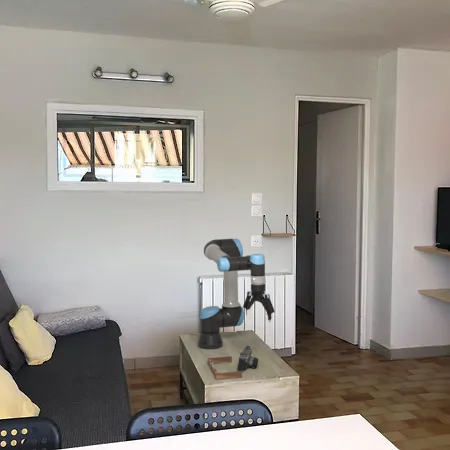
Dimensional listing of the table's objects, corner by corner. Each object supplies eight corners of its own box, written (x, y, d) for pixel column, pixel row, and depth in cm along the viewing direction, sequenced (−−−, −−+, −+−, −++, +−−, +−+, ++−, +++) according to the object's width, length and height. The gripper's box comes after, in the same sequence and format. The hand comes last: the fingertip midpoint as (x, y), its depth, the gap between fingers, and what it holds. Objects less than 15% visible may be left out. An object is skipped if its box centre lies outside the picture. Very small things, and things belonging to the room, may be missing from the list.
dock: (207, 363, 284) (207, 356, 284) (231, 361, 287) (231, 354, 287) (216, 380, 259) (216, 372, 259) (242, 377, 262) (241, 370, 262)
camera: (252, 377, 267) (256, 358, 265) (235, 372, 268) (239, 353, 267) (258, 365, 284) (261, 348, 283) (241, 361, 286) (245, 343, 284)
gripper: (236, 282, 278) (236, 321, 279) (271, 287, 260) (271, 329, 261) (245, 280, 283) (246, 318, 284) (280, 285, 265) (281, 326, 266)
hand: (258, 323), depth 273 cm, fingers open, 13 cm apart
